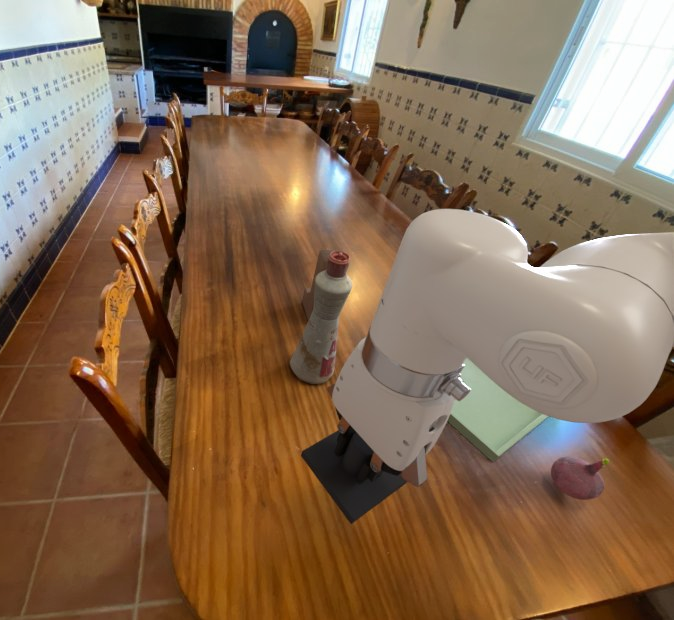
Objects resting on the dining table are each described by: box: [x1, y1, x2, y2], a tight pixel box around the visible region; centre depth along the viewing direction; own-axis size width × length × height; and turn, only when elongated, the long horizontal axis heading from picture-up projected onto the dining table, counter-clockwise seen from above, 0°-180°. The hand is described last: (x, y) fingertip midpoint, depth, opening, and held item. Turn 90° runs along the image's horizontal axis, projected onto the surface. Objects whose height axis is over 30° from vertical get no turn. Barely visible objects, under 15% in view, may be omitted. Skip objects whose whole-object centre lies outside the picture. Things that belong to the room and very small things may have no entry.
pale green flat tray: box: [447, 358, 550, 463], centre depth 74 cm, size 28×24×2 cm
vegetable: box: [550, 456, 610, 501], centre depth 55 cm, size 6×6×10 cm
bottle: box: [289, 250, 353, 385], centre depth 65 cm, size 9×9×28 cm
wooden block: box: [301, 249, 339, 322], centre depth 82 cm, size 9×4×18 cm, turn 5°
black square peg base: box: [300, 429, 408, 525], centre depth 41 cm, size 9×9×6 cm
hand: (355, 461), depth 42 cm, fingers closed on black square peg base, 3 cm apart
